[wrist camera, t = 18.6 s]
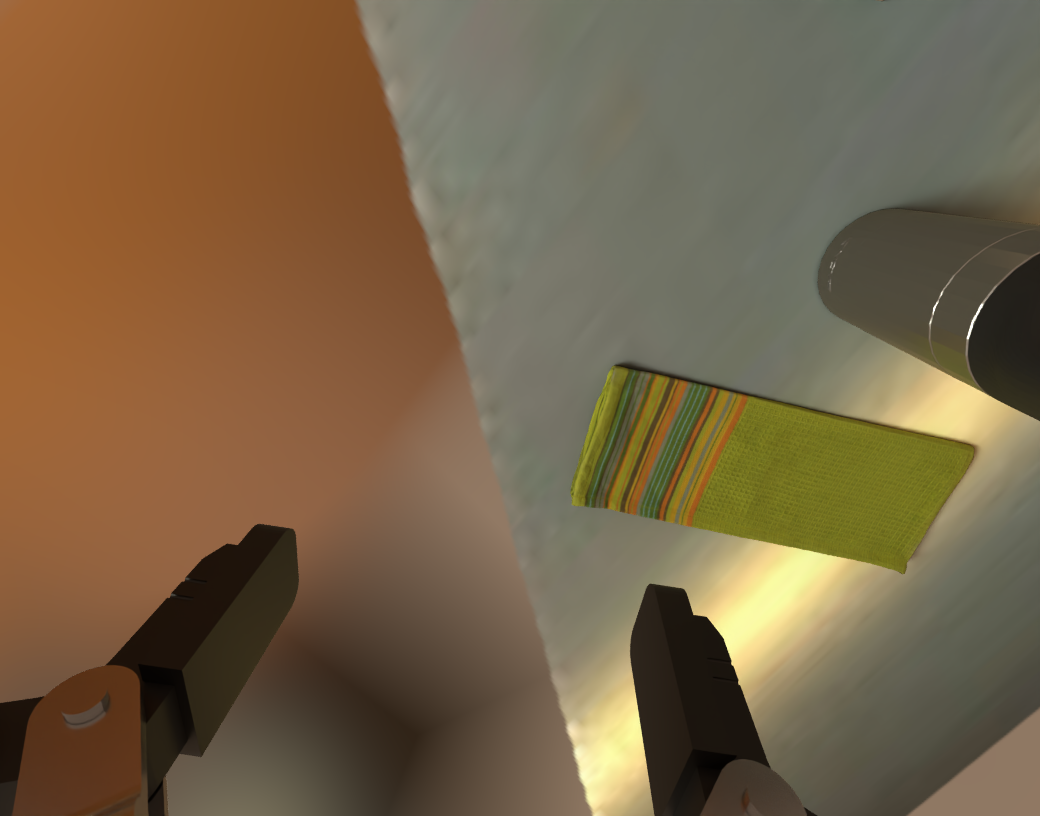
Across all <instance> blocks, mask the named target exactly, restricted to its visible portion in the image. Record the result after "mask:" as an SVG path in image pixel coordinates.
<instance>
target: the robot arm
mask: <svg viewBox="0 0 1040 816" xmlns="http://www.w3.org/2000/svg"><path fill="white" fill-rule="evenodd" d="M818 289H819V294H820V296H821V299H822V301H823V303H824V305H825V306H826V307H827V308H828V309H829V311H830V312H832V313H833V314H835V315H836V316H837V317H839V318H841V319H843V320H845V321H847V322H848V323H850V324H852V325H854V326H856V327H858V328H860V329H862V330H863V331H865V332H867V333H869V334H871V335H873V336H875V337H877V338H879V339H881V340H883V341H885V342H887V343H888V344H890V345H892V346H894V347H896V348H898V349H900V350H902V351H904V352H906V353H908V354H910V355H912V356H914V357H915V358H917V359H919V360H921V361H923V362H925V363H927V364H929V365H931V366H933V367H935V368H937V369H939V370H941V371H942V372H944V373H946V374H948V375H950V376H952V377H954V378H956V379H958V380H960V381H962V382H964V383H966V384H968V385H970V386H972V387H974V388H976V389H978V390H980V391H982V392H984V393H985V394H987V395H989V396H991V397H993V398H995V399H996V400H998V401H1000V402H1002V403H1004V404H1006V405H1008V406H1010V407H1012V408H1014V409H1016V410H1018V411H1020V412H1022V413H1025V414H1027V415H1029V416H1031V417H1033V418H1035V419H1037V420H1039V421H1040V225H1036V224H1027V223H1018V222H1010V221H1001V220H992V219H983V218H975V217H966V216H957V215H948V214H940V213H933V212H924V211H915V210H906V209H897V208H896V209H883V210H879V211H875V212H871V213H869V214H867V215H865V216H862V217H860V218H858V219H857V220H855V221H854V222H852V223H851V224H849V225H848V226H847V227H845V228H844V229H843V230H842V231H841V232H840V233H839V234H838V235H837V236H836V237H835V238H834V240H833V241H832V243H831V244H830V245H829V247H828V248H827V250H826V252H825V254H824V256H823V258H822V260H821V264H820V268H819V271H818ZM298 582H299V576H298V562H297V546H296V534H295V531H294V530H293V529H290V528H284V527H277V526H271V525H264V524H257V525H255V526H254V527H253V528H252V529H251V530H250V531H249V532H248V534H247V535H246V536H245V537H244V539H243V540H242V541H241V542H240V543H239V544H238V545H232V544H226V545H224V546H222V547H221V548H219V549H218V550H216V551H215V552H213V553H211V554H209V555H208V556H206V557H205V558H203V559H202V560H201V561H200V562H199V563H198V564H197V566H196V567H195V568H194V569H193V570H192V571H191V572H190V573H189V574H188V575H187V577H186V578H185V581H184V582H181V583H180V584H179V585H178V587H177V588H176V589H175V590H174V591H173V592H172V593H171V596H170V598H167V599H166V600H165V601H164V602H163V603H162V604H161V605H160V606H159V608H158V609H157V610H156V611H155V612H154V613H153V614H152V615H151V616H150V617H149V619H148V620H147V621H146V622H145V623H144V624H143V625H142V626H141V627H140V629H139V630H138V631H137V632H136V633H135V634H134V635H133V636H132V637H131V638H130V640H129V641H128V642H127V643H126V644H125V645H124V646H123V647H122V648H121V650H120V651H119V652H118V653H117V654H116V655H115V656H114V657H113V658H112V659H111V660H110V661H109V662H108V663H107V664H106V665H105V666H101V667H96V668H92V669H89V670H86V671H83V672H81V673H79V674H76V675H74V676H72V677H70V678H68V679H67V680H65V681H63V682H62V683H60V684H59V685H57V686H56V687H55V688H53V689H52V690H51V691H50V692H49V693H48V694H46V695H45V696H43V697H38V698H33V699H25V700H19V701H12V702H5V703H0V816H169V813H168V794H167V780H166V773H167V772H168V771H169V769H170V767H171V766H172V764H173V763H174V761H175V760H176V758H177V757H178V755H179V754H185V755H192V756H198V757H202V755H203V753H204V752H205V750H206V748H207V747H208V745H209V743H210V742H211V740H212V738H213V737H214V735H215V733H216V732H217V730H218V728H219V727H220V725H221V723H222V722H223V720H224V718H225V717H226V715H227V713H228V712H229V710H230V708H231V707H232V705H233V704H234V702H235V700H236V698H237V697H238V695H239V693H240V692H241V690H242V689H243V687H244V685H245V684H246V682H247V680H248V678H249V677H250V675H251V674H252V672H253V670H254V669H255V667H256V665H257V664H258V662H259V660H260V658H261V657H262V655H263V654H264V652H265V650H266V649H267V647H268V645H269V644H270V642H271V640H272V639H273V637H274V635H275V634H276V632H277V630H278V629H279V627H280V625H281V624H282V622H283V620H284V619H285V617H286V615H287V614H288V612H289V610H290V609H291V607H292V605H293V602H294V600H295V597H296V594H297V590H298ZM630 658H631V666H632V672H633V679H634V685H635V692H636V698H637V705H638V711H639V718H640V724H641V730H642V737H643V743H644V750H645V756H646V763H647V769H648V776H649V782H650V789H651V795H652V802H653V808H654V815H655V816H817V815H815V814H814V813H812V812H811V811H809V810H808V809H806V808H805V807H803V805H802V803H801V801H800V799H799V798H798V796H797V794H796V793H795V791H794V790H793V789H792V788H791V786H790V785H789V784H788V783H787V782H786V781H785V780H784V779H783V778H782V777H781V776H780V775H778V774H777V773H776V772H775V771H773V770H772V769H771V768H770V766H769V763H768V761H767V758H766V756H765V753H764V750H763V747H762V745H761V742H760V739H759V736H758V733H757V731H756V728H755V725H754V722H753V720H752V717H751V714H750V711H749V708H748V706H747V703H746V700H745V697H744V694H743V692H742V689H741V686H740V685H738V678H737V675H736V672H735V669H734V667H733V666H732V665H731V658H730V655H729V653H728V650H727V647H726V644H725V642H724V639H723V637H722V636H721V635H720V633H719V632H718V631H717V629H716V628H715V627H714V626H713V624H712V623H711V622H710V620H709V619H708V618H707V617H704V616H697V615H693V612H692V609H691V606H690V603H689V599H688V596H687V593H686V591H685V590H684V589H682V588H676V587H669V586H662V585H656V584H649V585H648V586H647V588H646V591H645V594H644V597H643V600H642V603H641V606H640V609H639V612H638V615H637V618H636V622H635V625H634V628H633V631H632V635H631V644H630Z"/></svg>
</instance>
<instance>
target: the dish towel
mask: <svg viewBox="0 0 1040 816" xmlns="http://www.w3.org/2000/svg"><path fill="white" fill-rule="evenodd" d="M973 457H974V447H972V446H971V445H968V444H963V443H959V442H954V441H950V440H946V439H941V438H936V437H931V436H926V435H921V434H916V433H912V432H907V431H903V430H898V429H893V428H889V427H884V426H880V425H876V424H871V423H867V422H863V421H858V420H853V419H849V418H844V417H840V416H835V415H831V414H827V413H822V412H818V411H814V410H810V409H806V408H802V407H798V406H794V405H790V404H785V403H782V402H777V401H772V400H767V399H763V398H758V397H754V396H749V395H744V394H740V393H735V392H731V391H726V390H723V389H719V388H715V387H711V386H707V385H702V384H698V383H694V382H688V381H684V380H680V379H675V378H671V377H668V376H663V375H659V374H654V373H650V372H644V371H638V370H633V369H628V368H624V367H620V366H612V368H611V370H610V372H609V373H608V377H607V381H606V384H605V386H604V388H603V391H602V393H601V395H600V397H599V399H598V401H597V403H596V407H595V410H594V413H593V416H592V419H591V422H590V426H589V430H588V433H587V435H586V439H585V443H584V446H583V449H582V452H581V455H580V459H579V463H578V467H577V470H576V472H575V475H574V478H573V482H572V487H571V492H570V494H571V497H572V505H573V506H586V507H592V508H607V509H612V510H615V511H619V512H624V513H629V514H633V515H638V516H642V517H647V518H652V519H657V520H662V521H666V522H671V523H676V524H680V525H684V526H689V527H694V528H699V529H705V530H710V531H714V532H719V533H724V534H729V535H733V536H738V537H743V538H748V539H754V540H759V541H764V542H769V543H774V544H778V545H783V546H788V547H794V548H799V549H803V550H809V551H813V552H818V553H822V554H827V555H832V556H837V557H842V558H847V559H853V560H857V561H861V562H866V563H871V564H874V565H877V566H882V567H885V568H888V569H892V570H895V571H898V572H900V573H901V574H905V571H906V568H907V562H908V560H909V559H910V557H911V556H912V555H913V553H914V551H915V550H916V548H917V547H918V545H919V543H920V542H921V539H922V538H923V537H924V535H925V533H926V530H927V529H928V527H929V526H930V524H931V522H932V521H933V520H934V518H935V517H936V515H937V513H938V512H939V510H940V508H941V507H942V506H943V504H944V503H945V501H946V499H947V498H948V497H949V496H950V494H951V493H952V492H953V489H954V488H955V487H956V486H957V484H958V483H959V481H960V479H961V478H962V477H963V475H964V474H965V472H966V470H967V469H968V467H969V465H970V463H971V462H972V460H973Z"/></svg>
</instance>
